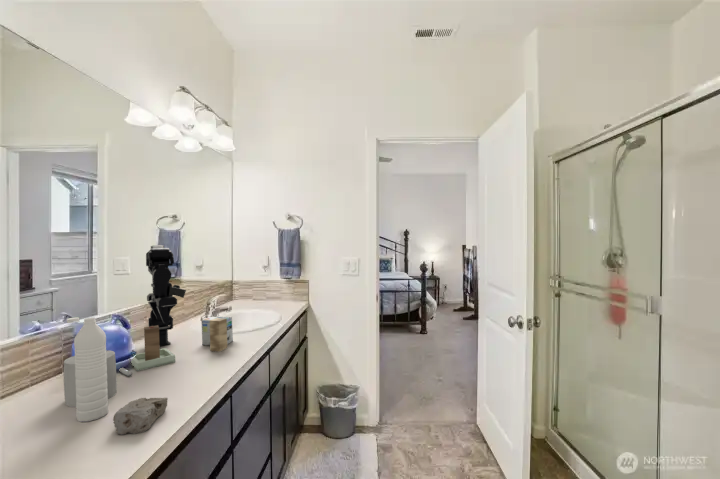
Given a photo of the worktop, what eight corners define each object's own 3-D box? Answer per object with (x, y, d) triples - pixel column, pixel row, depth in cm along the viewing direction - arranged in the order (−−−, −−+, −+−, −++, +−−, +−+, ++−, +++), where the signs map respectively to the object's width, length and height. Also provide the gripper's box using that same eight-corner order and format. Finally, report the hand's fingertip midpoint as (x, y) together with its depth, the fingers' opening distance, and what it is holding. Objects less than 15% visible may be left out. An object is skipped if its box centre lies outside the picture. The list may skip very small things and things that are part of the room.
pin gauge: (117, 371, 122) (117, 367, 122) (122, 370, 123) (122, 366, 123) (127, 377, 117) (127, 372, 117) (132, 375, 118) (132, 371, 118)
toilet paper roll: (125, 393, 105) (124, 353, 105) (77, 411, 95) (76, 367, 95) (103, 385, 111) (101, 348, 111) (55, 402, 100) (54, 360, 100)
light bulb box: (233, 340, 156) (232, 316, 156) (226, 345, 149) (225, 319, 149) (209, 340, 157) (209, 316, 157) (201, 345, 150) (200, 319, 150)
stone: (171, 405, 96) (128, 412, 94) (169, 385, 96) (126, 392, 93) (158, 436, 84) (109, 446, 81) (155, 413, 83) (105, 422, 80)
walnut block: (145, 359, 132) (144, 326, 132) (159, 357, 134) (158, 324, 134) (145, 363, 128) (144, 329, 128) (159, 360, 130) (158, 327, 130)
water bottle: (114, 409, 95) (111, 314, 95) (96, 422, 89) (92, 320, 88) (81, 409, 95) (78, 315, 95) (60, 422, 89) (57, 321, 88)
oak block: (210, 350, 143) (209, 320, 143) (218, 347, 147) (217, 317, 147) (219, 351, 142) (219, 321, 142) (227, 348, 146) (226, 318, 146)
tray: (129, 362, 131) (129, 355, 131) (165, 354, 140) (165, 347, 140) (137, 370, 123) (136, 363, 123) (175, 361, 131) (175, 355, 131)
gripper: (191, 280, 137) (192, 321, 137) (176, 277, 151) (177, 314, 151) (158, 283, 130) (159, 327, 130) (146, 279, 143) (147, 318, 144)
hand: (162, 321), depth 139 cm, fingers open, 9 cm apart
